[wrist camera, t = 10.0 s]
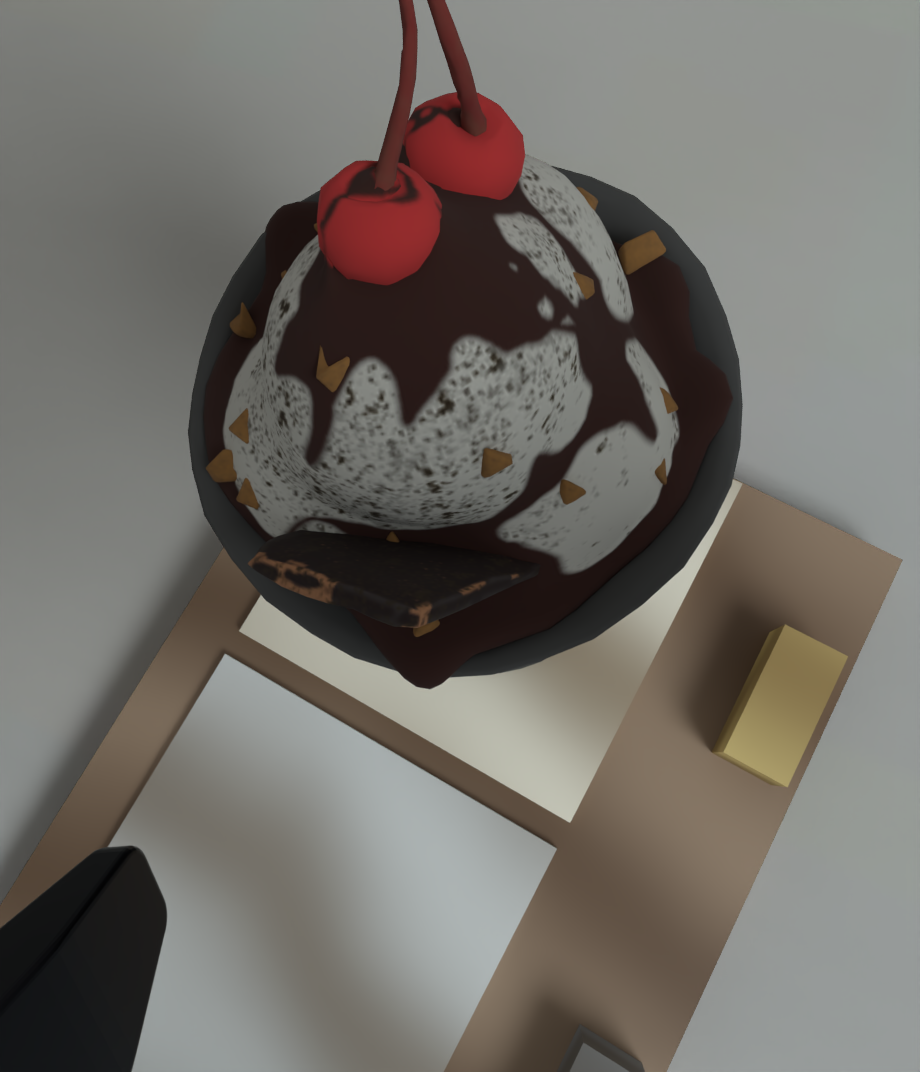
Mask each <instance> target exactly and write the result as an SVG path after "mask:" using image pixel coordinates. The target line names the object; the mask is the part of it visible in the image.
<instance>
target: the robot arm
mask: <svg viewBox="0 0 920 1072" xmlns="http://www.w3.org/2000/svg"><path fill="white" fill-rule="evenodd" d="M166 926H167V907H166V902H165V899H164V897H163V894H162V892H161V890H160V888H159V885H158V883H157V881H156V879H155V876H154V874H153V872H152V870H151V867H150V865H149V863H148V861H147V858H146V856H145V854H144V853H143V851H142V850H141V849H139V848H138V847H137V846H132V845H129V846H117V847H104V848H101V849H98V850H95V851H94V852H92V853H91V854H90V855H88V856H87V857H86V858H85V859H84V860H82V861H81V862H80V863H79V864H77V865H76V866H75V867H74V868H73V869H71V870H70V871H69V872H68V873H67V874H65V875H64V876H63V877H62V878H60V879H59V880H58V881H57V882H56V883H54V884H53V885H52V886H51V887H49V888H48V889H47V890H46V891H45V892H43V893H42V894H41V895H40V896H39V897H37V898H36V899H35V900H34V901H32V902H31V903H30V904H29V905H28V906H26V907H25V908H24V909H23V910H22V911H20V912H19V913H18V914H17V915H15V916H14V917H13V918H12V919H11V920H9V921H8V922H7V923H6V924H4V925H3V926H2V927H1V928H0V1072H132V1068H133V1065H134V1061H135V1057H136V1053H137V1049H138V1045H139V1041H140V1036H141V1032H142V1028H143V1024H144V1019H145V1015H146V1011H147V1007H148V1003H149V998H150V994H151V990H152V986H153V982H154V977H155V973H156V969H157V965H158V960H159V956H160V952H161V948H162V944H163V939H164V935H165V931H166Z"/></svg>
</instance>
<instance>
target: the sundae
mask: <svg viewBox="0 0 920 1072" xmlns="http://www.w3.org/2000/svg"><path fill="white" fill-rule="evenodd" d="M427 1H428V4H429V7H430V10H431V14H432V17H433V20H434V23H435V27H436V30H437V33H438V36H439V40H440V43H441V46H442V49H443V52H444V54H445V57H446V60H447V63H448V66H449V70H450V73H451V77H452V80H453V84H454V86H455V88H456V91H457V92H455V93H449V94H445V95H442V96H440V97H437V98H434V99H431V100H428V101H426V102H424V103H423V104H421V105H419V106H418V107H416V108H415V110H414V111H413V113H412V115H411V117H410V119H409V115H410V109H411V103H412V97H413V92H414V86H415V80H416V67H417V24H416V18H415V11H414V5H413V0H399V4H400V12H401V20H402V28H403V50H402V53H401V67H400V80H399V87H398V91H397V94H396V98H395V102H394V106H393V110H392V113H391V117H390V121H389V124H388V128H387V132H386V135H385V139H384V142H383V146H382V149H381V153H380V156H379V160H378V161H355V162H353V163H352V164H350V165H349V166H347V167H345V168H344V169H343V170H341V171H340V172H339V173H338V174H337V175H335V176H334V177H333V178H332V179H330V180H329V181H328V182H327V183H326V184H324V185H323V186H322V187H321V190H320V191H318V192H316V193H314V194H313V195H311V196H309V197H308V198H306V199H304V200H303V201H301V202H295V203H292V204H288V205H283V206H282V207H281V208H280V209H278V210H277V211H276V212H275V214H274V215H273V216H272V218H271V219H270V221H269V223H268V224H267V226H266V230H265V232H264V233H263V234H262V235H261V236H260V237H259V239H258V240H257V242H256V243H255V245H254V246H253V248H252V249H251V251H250V252H249V254H248V255H247V256H246V258H245V259H244V261H243V262H242V264H241V265H240V267H239V268H238V270H237V271H236V272H235V274H234V275H233V277H232V279H231V281H230V283H229V285H228V287H227V289H226V291H225V293H224V295H223V296H222V298H221V300H220V302H219V304H218V306H217V308H216V310H215V312H214V314H213V316H212V320H211V323H210V326H209V330H208V333H207V336H206V340H205V343H204V346H203V349H202V353H201V356H200V360H199V365H198V370H197V374H196V379H195V384H194V388H193V393H192V402H191V411H190V420H189V429H188V436H189V445H190V453H191V462H192V470H193V474H194V478H195V481H196V485H197V489H198V493H199V496H200V500H201V504H202V508H203V511H204V515H205V517H206V519H207V520H208V522H209V524H210V525H211V527H212V528H213V530H214V532H215V533H216V535H217V537H218V538H219V540H220V542H221V543H222V545H223V546H224V548H225V550H226V551H227V553H228V555H229V556H230V558H231V559H232V561H233V562H234V563H235V564H236V565H237V567H238V568H239V569H240V570H241V571H242V573H243V574H244V575H245V576H246V577H247V579H248V580H249V581H250V582H251V583H252V585H253V586H254V587H255V588H256V589H257V591H258V592H259V593H260V594H261V595H262V597H263V598H264V599H265V600H266V601H267V602H268V603H270V604H271V605H273V606H274V607H275V608H277V609H278V610H279V611H281V612H282V613H284V614H285V615H286V616H288V617H289V618H290V619H292V620H293V621H295V622H296V623H297V624H299V625H300V626H301V627H303V628H304V629H306V630H307V631H308V632H310V633H311V634H313V635H314V636H316V637H318V638H320V639H321V640H323V641H325V642H327V643H329V644H330V645H332V646H334V647H336V648H337V649H339V650H341V651H343V652H344V653H346V654H348V655H350V656H352V657H353V658H356V659H359V660H362V661H366V662H369V663H372V664H375V665H378V666H382V667H385V668H388V669H391V670H394V671H398V672H399V673H400V675H401V676H402V677H403V678H404V679H405V680H407V681H408V682H410V683H411V684H413V685H414V686H416V687H419V688H425V689H432V688H434V687H437V686H439V685H441V684H443V683H444V682H445V681H446V680H447V679H448V678H450V677H466V676H483V675H494V674H497V673H503V672H508V671H513V670H517V669H522V668H525V667H527V666H530V665H533V664H536V663H539V662H542V661H543V660H545V659H546V658H549V657H551V656H554V655H556V654H559V653H561V652H564V651H566V650H569V649H571V648H574V647H576V646H578V645H581V644H583V643H586V642H588V641H591V640H593V639H595V638H596V637H598V636H599V635H601V634H602V633H603V632H605V631H606V630H608V629H609V628H610V627H612V626H613V625H615V624H616V623H618V622H619V621H620V620H622V619H623V618H625V617H626V616H627V615H629V614H630V613H632V612H633V611H635V610H636V609H637V608H639V607H640V606H642V605H643V604H644V603H645V602H646V601H647V600H648V599H649V598H651V597H652V596H653V595H654V594H655V593H656V592H657V591H658V590H659V589H661V588H662V587H663V586H664V585H665V584H666V583H667V582H668V581H669V580H671V579H672V578H673V577H674V576H675V575H676V574H677V573H678V572H679V571H681V570H682V569H683V568H684V567H685V565H686V564H687V562H688V560H689V559H690V557H691V556H692V554H693V553H694V551H695V550H696V548H697V547H698V545H699V544H700V542H701V541H702V539H703V538H704V536H705V535H706V533H707V532H708V530H709V529H710V527H711V526H712V524H713V523H714V520H715V518H716V516H717V514H718V512H719V510H720V508H721V506H722V504H723V502H724V500H725V498H726V496H727V494H728V492H729V490H730V488H731V486H732V481H733V476H734V472H735V467H736V462H737V458H738V453H739V449H740V440H741V423H742V393H741V380H740V367H739V358H738V355H737V351H736V348H735V344H734V341H733V338H732V334H731V331H730V327H729V324H728V320H727V317H726V314H725V312H724V310H723V307H722V305H721V303H720V300H719V298H718V296H717V294H716V291H715V289H714V287H713V284H712V282H711V280H710V278H709V275H708V273H707V271H706V268H705V267H704V266H703V264H702V263H701V262H700V261H699V260H698V258H697V257H696V256H695V255H694V253H693V252H692V251H691V250H690V249H689V247H688V246H687V245H686V244H685V243H684V241H683V240H682V239H681V238H680V237H679V235H678V234H677V233H676V232H675V231H674V229H673V228H672V227H671V226H669V225H668V224H667V223H666V222H665V221H664V220H662V219H661V218H660V217H659V216H658V215H657V214H655V213H654V212H653V211H652V210H651V209H649V208H648V207H647V206H646V205H645V204H644V203H642V202H641V201H640V200H639V199H638V198H637V197H635V196H633V195H631V194H629V193H627V192H624V191H622V190H620V189H617V188H615V187H613V186H611V185H608V184H606V183H604V182H601V181H599V180H597V179H595V178H592V177H590V176H586V175H583V174H579V173H575V172H572V171H568V170H565V169H561V168H557V167H554V166H550V165H549V164H547V163H545V162H543V161H541V160H538V159H536V158H534V157H531V156H529V155H526V154H525V151H524V142H523V135H522V134H521V132H520V131H519V130H518V128H517V127H516V126H515V124H514V123H513V122H512V120H511V119H510V118H509V116H508V115H507V114H506V113H505V111H504V110H503V109H502V108H501V106H499V105H498V104H497V103H495V102H493V101H492V100H490V99H488V98H486V97H484V96H483V95H481V94H479V93H477V92H476V88H475V84H474V80H473V76H472V73H471V69H470V66H469V63H468V60H467V57H466V54H465V52H464V49H463V46H462V44H461V41H460V38H459V36H458V33H457V30H456V28H455V25H454V22H453V19H452V17H451V14H450V12H449V9H448V7H447V4H446V2H445V0H427ZM408 119H409V120H408Z"/></svg>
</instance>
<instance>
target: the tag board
mask: <svg viewBox="0 0 920 1072" xmlns="http://www.w3.org/2000/svg"><path fill="white" fill-rule="evenodd" d="M901 562H902V559H900V558H898V557H896V556H893V555H891V554H889V553H887V552H885V551H883V550H881V549H879V548H877V547H875V546H873V545H871V544H869V543H866V542H864V541H862V540H860V539H858V538H856V537H854V536H852V535H850V534H848V533H846V532H844V531H842V530H839V529H837V528H835V527H833V526H831V525H829V524H827V523H825V522H823V521H821V520H819V519H817V518H815V517H813V516H810V515H808V514H806V513H804V512H802V511H800V510H798V509H796V508H794V507H792V506H790V505H788V504H786V503H783V502H781V501H779V500H777V499H775V498H773V497H771V496H769V495H767V494H765V493H763V492H761V491H759V490H756V489H754V488H752V487H750V486H748V485H746V484H744V483H742V482H740V481H738V480H736V479H734V478H733V481H732V486H731V488H730V490H729V492H728V494H727V496H726V498H725V500H724V502H723V504H722V506H721V508H720V510H719V512H718V514H717V516H716V518H715V520H714V523H713V524H712V526H711V527H710V529H709V530H708V532H707V533H706V535H705V536H704V538H703V539H702V541H701V542H700V544H699V545H698V547H697V548H696V550H695V551H694V553H693V554H692V556H691V557H690V559H689V560H688V562H687V564H686V565H685V567H684V568H683V569H682V570H681V571H679V572H678V573H677V574H676V575H675V576H674V577H673V578H672V579H671V580H669V581H668V582H667V583H666V584H665V585H664V586H663V587H662V588H661V589H659V590H658V591H657V592H656V593H655V594H654V595H653V596H652V597H651V598H649V599H648V600H647V601H646V602H645V603H644V604H643V605H642V606H640V607H639V608H637V609H636V610H635V611H633V612H632V613H630V614H629V615H627V616H626V617H625V618H623V619H622V620H620V621H619V622H618V623H616V624H615V625H613V626H612V627H610V628H609V629H608V630H606V631H605V632H603V633H602V634H601V635H599V636H598V637H596V638H595V639H593V640H591V641H588V642H586V643H583V644H581V645H578V646H576V647H574V648H571V649H569V650H566V651H564V652H561V653H559V654H556V655H554V656H551V657H549V658H546V659H545V660H543V661H542V662H539V663H536V664H533V665H530V666H527V667H525V668H522V669H517V670H513V671H508V672H503V673H497V674H494V675H483V676H466V677H450V678H448V679H447V680H446V681H445V682H444V683H443V684H441V685H439V686H437V687H434V688H432V689H425V688H419V687H416V686H414V685H413V684H411V683H410V682H408V681H407V680H405V679H404V678H403V677H402V676H401V675H400V673H399V672H398V671H394V670H391V669H388V668H385V667H382V666H378V665H375V664H372V663H369V662H366V661H362V660H359V659H356V658H353V657H352V656H350V655H348V654H346V653H344V652H343V651H341V650H339V649H337V648H336V647H334V646H332V645H330V644H329V643H327V642H325V641H323V640H321V639H320V638H318V637H316V636H314V635H313V634H311V633H310V632H308V631H307V630H306V629H304V628H303V627H301V626H300V625H299V624H297V623H296V622H295V621H293V620H292V619H290V618H289V617H288V616H286V615H285V614H284V613H282V612H281V611H279V610H278V609H277V608H275V607H274V606H273V605H271V604H270V603H268V602H267V601H266V600H265V599H264V598H263V597H262V595H261V594H260V593H259V592H258V591H257V589H256V588H255V587H254V586H253V585H252V583H251V582H250V581H249V580H248V579H247V577H246V576H245V575H244V574H243V573H242V571H241V570H240V569H239V568H238V567H237V565H236V564H235V563H234V562H233V561H232V559H231V558H230V556H229V555H228V553H227V551H226V550H225V548H224V547H223V549H222V551H221V552H220V554H219V555H218V557H217V559H216V560H215V562H214V563H213V565H212V567H211V568H210V570H209V571H208V573H207V575H206V576H205V578H204V580H203V581H202V583H201V584H200V586H199V588H198V589H197V591H196V592H195V594H194V596H193V597H192V599H191V600H190V602H189V604H188V605H187V607H186V608H185V610H184V612H183V613H182V615H181V616H180V618H179V620H178V621H177V623H176V624H175V626H174V628H173V629H172V631H171V632H170V634H169V636H168V637H167V639H166V640H165V642H164V644H163V645H162V647H161V648H160V650H159V652H158V653H157V655H156V657H155V658H154V660H153V661H152V663H151V665H150V666H149V668H148V669H147V671H146V673H145V674H144V676H143V677H142V679H141V681H140V682H139V684H138V685H137V687H136V689H135V690H134V692H133V693H132V695H131V697H130V698H129V700H128V701H127V703H126V705H125V706H124V708H123V709H122V711H121V713H120V714H119V716H118V717H117V719H116V721H115V722H114V724H113V725H112V727H111V729H110V730H109V732H108V733H107V735H106V737H105V738H104V740H103V742H102V743H101V745H100V746H99V748H98V750H97V751H96V753H95V754H94V756H93V758H92V759H91V761H90V762H89V764H88V766H87V767H86V769H85V770H84V772H83V774H82V775H81V777H80V778H79V780H78V782H77V783H76V785H75V786H74V788H73V790H72V791H71V793H70V794H69V796H68V798H67V799H66V801H65V802H64V804H63V806H62V807H61V809H60V810H59V812H58V814H57V815H56V817H55V818H54V820H53V822H52V823H51V825H50V827H49V828H48V830H47V831H46V833H45V835H44V836H43V838H42V839H41V841H40V843H39V844H38V846H37V847H36V849H35V851H34V852H33V854H32V855H31V857H30V859H29V860H28V862H27V863H26V865H25V867H24V868H23V870H22V871H21V873H20V875H19V876H18V878H17V879H16V881H15V883H14V884H13V886H12V887H11V889H10V891H9V892H8V894H7V895H6V897H5V899H4V900H3V902H2V903H1V905H0V928H1V927H2V926H3V925H4V924H6V923H7V922H8V921H9V920H11V919H12V918H13V917H14V916H15V915H17V914H18V913H19V912H20V911H22V910H23V909H24V908H25V907H26V906H28V905H29V904H30V903H31V902H32V901H34V900H35V899H36V898H37V897H39V896H40V895H41V894H42V893H43V892H45V891H46V890H47V889H48V888H49V887H51V886H52V885H53V884H54V883H56V882H57V881H58V880H59V879H60V878H62V877H63V876H64V875H65V874H67V873H68V872H69V871H70V870H71V869H73V868H74V867H75V866H76V865H77V864H79V863H80V862H81V861H82V860H84V859H85V858H86V857H87V856H88V855H90V854H91V853H92V852H94V851H95V850H98V849H101V848H104V847H117V846H129V845H132V846H137V847H138V848H139V849H141V850H142V851H143V853H144V854H145V856H146V858H147V861H148V863H149V865H150V867H151V870H152V872H153V874H154V876H155V879H156V881H157V883H158V885H159V888H160V890H161V892H162V894H163V897H164V899H165V902H166V907H167V926H166V931H165V935H164V939H163V944H162V948H161V952H160V956H159V960H158V965H157V969H156V973H155V977H154V982H153V986H152V990H151V994H150V998H149V1003H148V1007H147V1011H146V1015H145V1019H144V1024H143V1028H142V1032H141V1036H140V1041H139V1045H138V1049H137V1053H136V1057H135V1061H134V1065H133V1068H132V1072H667V1069H668V1067H669V1065H670V1063H671V1061H672V1059H673V1056H674V1054H675V1052H676V1050H677V1048H678V1046H679V1043H680V1041H681V1039H682V1037H683V1035H684V1033H685V1030H686V1028H687V1026H688V1024H689V1022H690V1020H691V1017H692V1015H693V1013H694V1011H695V1009H696V1007H697V1004H698V1002H699V1000H700V998H701V996H702V994H703V991H704V989H705V987H706V985H707V983H708V981H709V978H710V976H711V974H712V972H713V970H714V968H715V965H716V963H717V961H718V959H719V957H720V955H721V952H722V950H723V948H724V946H725V944H726V942H727V939H728V937H729V935H730V933H731V931H732V929H733V926H734V924H735V922H736V920H737V918H738V916H739V913H740V911H741V909H742V907H743V905H744V903H745V900H746V898H747V896H748V894H749V892H750V890H751V887H752V885H753V883H754V881H755V879H756V877H757V874H758V872H759V870H760V868H761V866H762V864H763V861H764V859H765V857H766V855H767V853H768V851H769V848H770V846H771V844H772V842H773V840H774V838H775V835H776V833H777V831H778V829H779V827H780V825H781V822H782V820H783V818H784V816H785V814H786V812H787V809H788V807H789V805H790V803H791V801H792V799H793V796H794V794H795V792H796V790H797V788H798V786H799V783H800V781H801V779H802V777H803V775H804V773H805V770H806V768H807V766H808V764H809V762H810V760H811V757H812V755H813V753H814V751H815V749H816V747H817V744H818V742H819V740H820V738H821V736H822V734H823V731H824V729H825V727H826V725H827V723H828V721H829V718H830V716H831V714H832V712H833V710H834V708H835V705H836V703H837V701H838V699H839V697H840V695H841V692H842V690H843V688H844V686H845V684H846V682H847V679H848V677H849V675H850V673H851V671H852V669H853V666H854V664H855V662H856V660H857V658H858V656H859V653H860V651H861V649H862V647H863V645H864V643H865V640H866V638H867V636H868V634H869V632H870V630H871V627H872V625H873V623H874V621H875V619H876V617H877V614H878V612H879V610H880V608H881V606H882V604H883V601H884V599H885V597H886V595H887V593H888V591H889V588H890V586H891V584H892V582H893V580H894V578H895V575H896V573H897V571H898V569H899V567H900V565H901Z"/></svg>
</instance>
